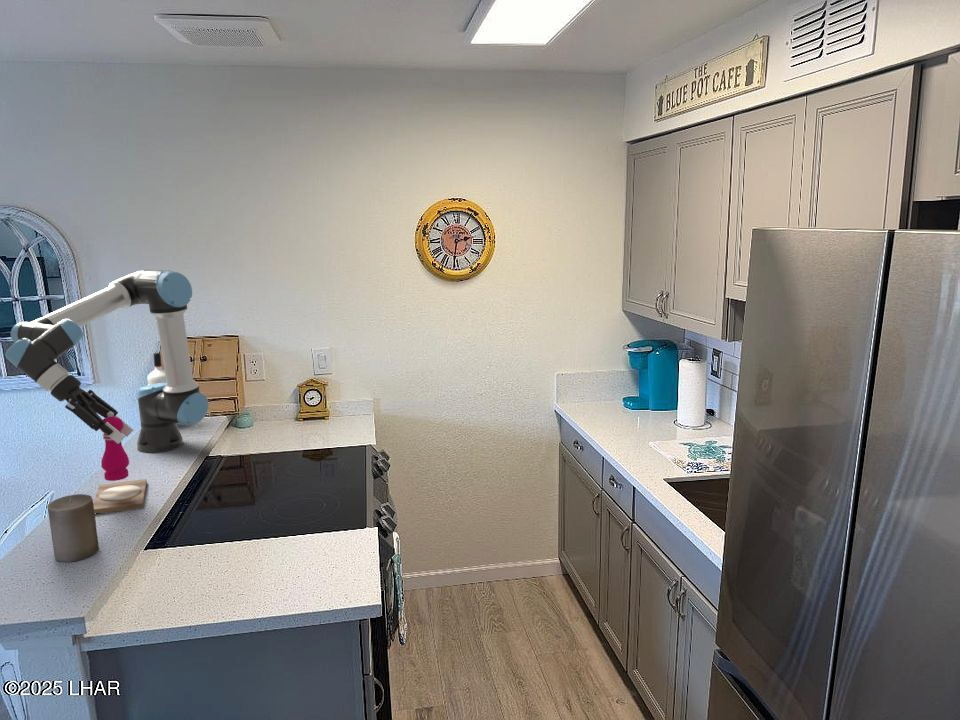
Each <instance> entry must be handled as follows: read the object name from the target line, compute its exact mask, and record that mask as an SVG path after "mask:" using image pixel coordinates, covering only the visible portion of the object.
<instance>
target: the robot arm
mask: <svg viewBox="0 0 960 720" xmlns="http://www.w3.org/2000/svg"><path fill="white" fill-rule="evenodd" d="M192 296H193V287H192V284H191V282H190V280H189V279H188V278H187V277H186V276H185V275H184V274H183V273H180V272H178V271H173V270H163V269H161V270H160V269H159V270H158V269H157V270H155V269H153V270H152V269H142V270H137V271H135V272H132V273H129V274H127V275H125V276H123V277H120V278H118V279H115V280H113V281H112V282H110V283H109V284H108V287H105V288H104V289H101V290H99V291H97V292H95V293H92V294H90V295H88V296H86V297H83V298H81V299H80V300H77V301H75V302H72V303H71V304H67V305H66V306H64V307H61V308H59V309H57V310H55V311H53V312H50V313H48V314H46V315H44V316H42V317H39V318H36V319H35V320H31V321H20V322H18V323H16V324H14V325H13V326H12V328H11V330H10V338H11V340H12V342H13V344H12V345H11V346H10V347H9V348H8V349H7V350H6V352H5V358H6V359H7V360H8V361H9V362H10V363H11V364H12V365H13V366H15V368H17V369H18V370H20V371H21V372H22V373H24V374H25V375H26V376H27V377H29V378H30V379H31V380H33V381H34V382H35V383H36V384H38V385H39V386H40V388H41V389H44V390H45V392H47V393H48V392H50V395H51V396H52V397H53V398H55V399H56V400H58V402H64V401H66V402H67V403H66V404H65V406H64V408H65V409H67V410H68V411H69V412H72V414H74V415H75V417H78V418H79V419H80V420H81V421H82V422H83V423H85V425H87V426H88V427H89V428H90V429H91V430H94V431H96V432H98V431H99V430H100V431H101V432H102V431H103V432H104V433H105V434H106V435H108V436H109V437H110V438H111V439H113V440H114V441H115V442H116V443H118V444H119V443H120V442H121V443H122V442H123V440H124V439H126V437H129V436H130V434H132V433H133V431H135V429H134V428H132V427H131V426H130V425H129V424H128V423H126V422H125V421H124V420H123V419H121V420H122V422H123V428H122V430H121V432H122V433H121V432H119V431H118V430H117V429H116V428H114V427H113V426H112V425H111V424H109V423H108V422H106V423H105V422H104V421H103V419H104V418H107V417H108V416H107V413H108V412H113V413H114V416H115V417H118V418H120V417H119V416H118V414H119V411H117V409H115V408H114V407H113V406H111V405H110V404H109V403H108V402H106V401H105V400H103V398H101V397H99V396H98V395H97V394H96V393H95V391H93V390H92V389H89V390H87V391H86V390H84V389H82V388H81V387H80V386H81V385H82V382H81V381H80V380H79V379H78V378H77V377H75V376H74V375H73V374H70V372H69V371H68V370H67V369H66V368H64V367H63V366H62V365H60V363H59V362H57V361H56V360H57V359H58V358H59V357H61V356H62V355H64V354H65V353H66V352H68V350H69V349H72V347H74V346H76V344H77V343H79V342H80V341H81V340H82V339H83V338H84V333H83V330H82V328H81V327H83V326H85V325H87V324H89V323H91V322H93V321H95V320H98V319H100V318H102V317H105V316H106V315H108V314H110V313H112V312H115V311H117V310H119V309H120V308H122V309H127V308H130V307H132V306H136V305H143V304H144V305H146V304H147V305H148V307H149V312H150V314H151V315H153V316H154V317H155V320H156V326H157V332H158V337H159V344H160V345H159V346H160V350H161V358H162V362H163V363H162V364H163V368H164V369H163V370H165V376H166V382H167V383H158V384H152V385H148V384H147V385H144V386H142V387H140V388H138V390H137V401H138V402H137V403H138V411H139V412H138V413H139V421H140V430H139V434H138V437H137V442H136V447H137V450H138V451H140V452H143V453H162V452H168V451H172V450H175V449H177V448H180V447H181V446H182V445H183V444H184V443H183V442H184V441H183V440H184V439H183V435H182V433H181V431H180V428H179V426H178V425H177V424H180V425H182V426H186V425H187V426H193V425H197V424H198V423H200V422H201V421H202V420H203V419H204V418H205V416H206V415H207V413H208V410H209V399H208V397H207V396H206V395H205V394H204V393H202V392H200V385H199V383H198V382H197V381H195V380H194V377H193V376H194V375H193V371H192V364H191V356H190V351H189V344H188V343H189V342H188V336H187V330H186V324H185V316H184V314H185V313H186V312H187V310H188V304H189V303H190V301H191V298H192ZM99 415H100V416H99ZM102 418H103V419H102ZM104 423H105V424H104ZM103 432H102V433H103ZM104 433H103V434H104Z"/></svg>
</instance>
